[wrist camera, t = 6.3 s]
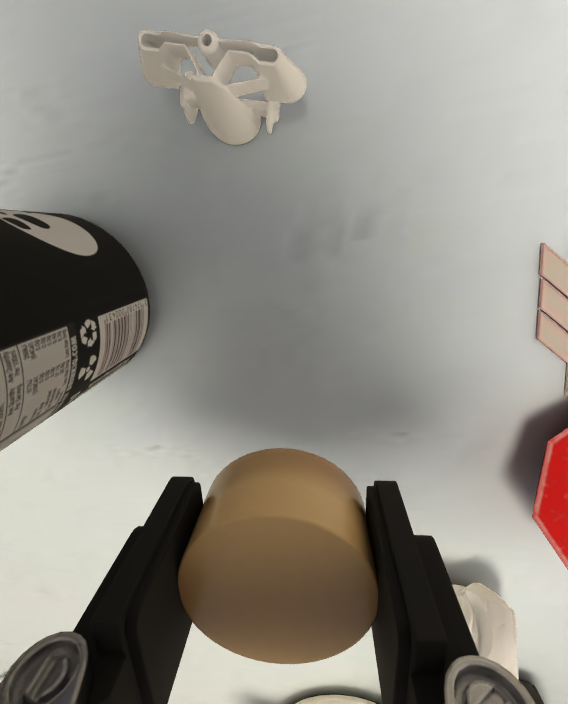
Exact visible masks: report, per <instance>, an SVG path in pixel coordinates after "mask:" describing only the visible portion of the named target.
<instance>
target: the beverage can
mask: <svg viewBox="0 0 568 704" xmlns="http://www.w3.org/2000/svg"><path fill="white" fill-rule="evenodd" d="M149 315H150V307H149V298H148V293H147V289H146V286H145V282H144V280H143V277H142V275H141V273H140V271H139V269H138V267H137V265H136V264H135V262H134V260H133V259H132V257H131V256H130V255H129V253H128V252H127V251H126V250H125V248H124V247H123V246H122V245H121V244H120V243H119V242H118V241H117V240H116V239H115V238H114V237H112V236H111V235H110V234H108V233H107V232H106V231H104V230H103V229H101V228H100V227H98V226H96V225H94V224H93V223H91V222H88V221H86V220H84V219H81V218H78V217H75V216H71V215H66V214H56V213H42V212H29V211H15V210H2V209H0V451H1V450H3V449H4V448H6V447H7V446H9V445H10V444H12V443H13V442H14V441H16V440H17V439H19V438H20V437H22V436H23V435H25V434H26V433H27V432H29V431H30V430H32V429H33V428H35V427H36V426H38V425H39V424H40V423H42V422H43V421H45V420H46V419H48V418H49V417H50V416H52V415H53V414H55V413H56V412H58V411H59V410H61V409H62V408H63V407H65V406H66V405H68V404H69V403H71V402H72V401H74V400H75V399H76V398H78V397H79V396H81V395H82V394H84V393H85V392H87V391H88V390H89V389H91V388H92V387H94V386H95V385H97V384H98V383H100V382H101V381H102V380H104V379H105V378H107V377H108V376H110V375H111V374H113V373H114V372H115V371H117V370H118V369H120V368H121V367H123V366H124V365H125V364H127V363H128V362H129V361H130V360H131V359H132V358H133V357H134V356H135V354H136V353H137V352H138V350H139V349H140V347H141V345H142V343H143V341H144V339H145V336H146V333H147V329H148V324H149Z"/></svg>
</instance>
